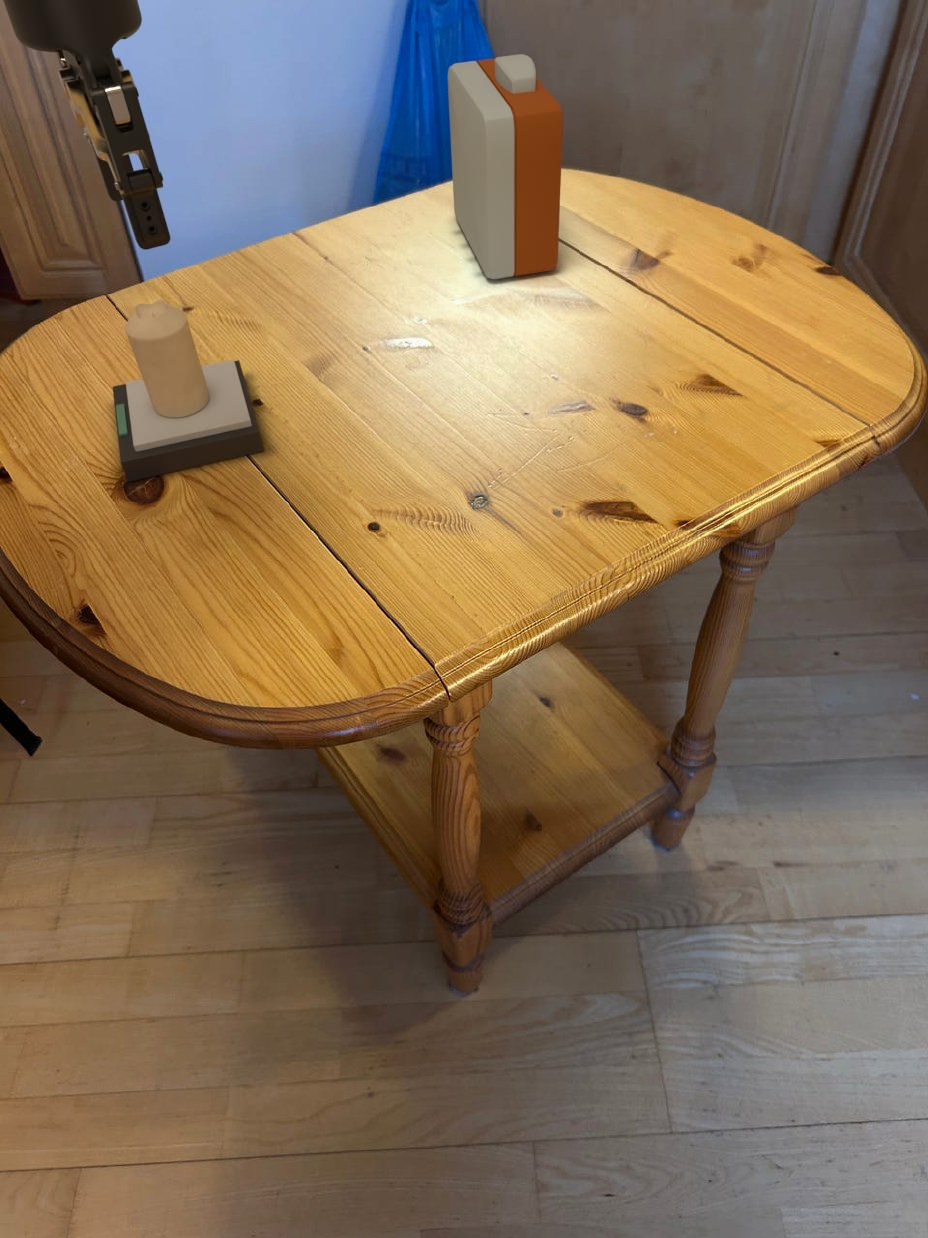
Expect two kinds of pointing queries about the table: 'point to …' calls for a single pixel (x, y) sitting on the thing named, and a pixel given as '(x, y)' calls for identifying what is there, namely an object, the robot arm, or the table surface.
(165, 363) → the candle
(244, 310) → the table surface
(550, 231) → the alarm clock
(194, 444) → the scale
